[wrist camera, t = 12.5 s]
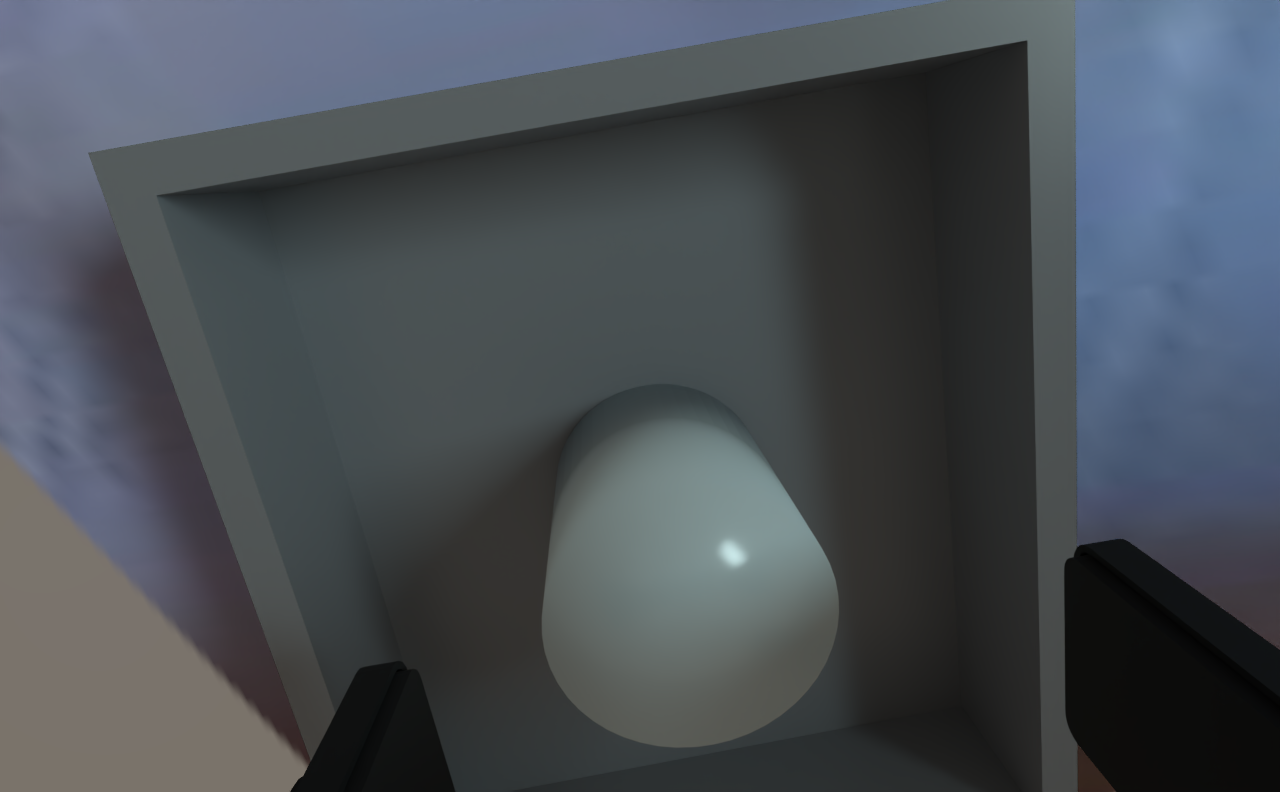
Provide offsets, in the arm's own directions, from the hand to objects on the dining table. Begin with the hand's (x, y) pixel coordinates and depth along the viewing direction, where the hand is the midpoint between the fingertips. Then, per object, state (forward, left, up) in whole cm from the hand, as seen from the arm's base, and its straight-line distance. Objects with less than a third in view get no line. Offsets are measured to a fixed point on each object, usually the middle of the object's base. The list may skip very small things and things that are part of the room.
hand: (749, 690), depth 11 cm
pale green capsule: (+1, 0, -8) cm, 8 cm away
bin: (+1, 0, -9) cm, 9 cm away
